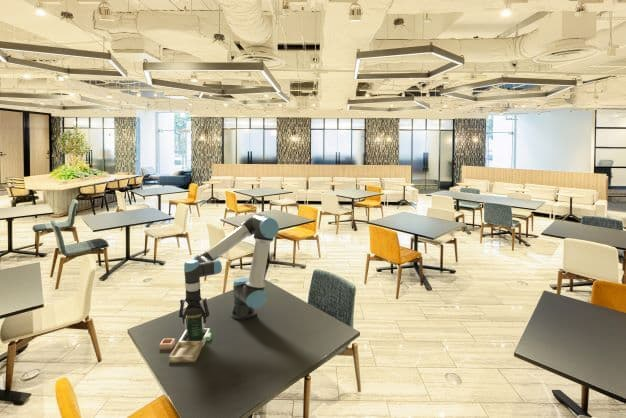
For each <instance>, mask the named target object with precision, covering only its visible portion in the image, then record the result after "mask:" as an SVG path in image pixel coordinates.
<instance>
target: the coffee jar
mask: <svg viewBox="0 0 626 418" xmlns="http://www.w3.org/2000/svg"><path fill="white" fill-rule="evenodd" d="M186 312H187V315H186V317H187V331H188V334H187V341H202V340H203V338H204V335H203V334H204V333H203V330H202V313H201V309H200V308H197V307H196V306H190V307H189V309H187V311H186Z"/></svg>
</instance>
